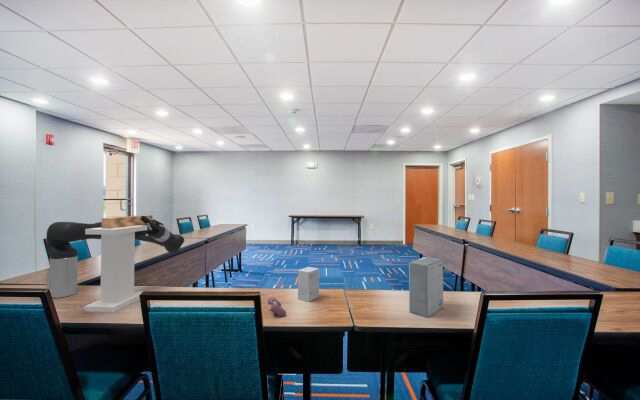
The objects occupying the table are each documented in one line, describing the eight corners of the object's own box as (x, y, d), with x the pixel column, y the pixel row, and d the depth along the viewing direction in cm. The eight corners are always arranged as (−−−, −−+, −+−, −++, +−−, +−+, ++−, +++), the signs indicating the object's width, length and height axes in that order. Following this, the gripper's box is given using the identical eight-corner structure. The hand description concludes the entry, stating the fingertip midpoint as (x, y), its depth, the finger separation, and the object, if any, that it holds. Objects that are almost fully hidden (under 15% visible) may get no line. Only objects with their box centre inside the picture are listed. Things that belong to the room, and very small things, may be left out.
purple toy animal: (271, 311, 110) (264, 297, 108) (281, 305, 111) (274, 291, 110) (276, 322, 100) (268, 306, 99) (287, 314, 102) (279, 299, 101)
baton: (144, 223, 132) (144, 215, 132) (152, 223, 131) (152, 215, 131) (101, 228, 108) (101, 218, 108) (111, 228, 107) (111, 218, 107)
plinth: (121, 295, 123) (122, 225, 123) (146, 296, 122) (147, 225, 122) (84, 311, 105) (85, 229, 105) (113, 312, 104) (114, 229, 104)
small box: (308, 294, 126) (308, 266, 126) (319, 297, 122) (319, 268, 123) (297, 299, 119) (297, 270, 119) (308, 302, 116) (309, 272, 116)
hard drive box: (425, 302, 117) (425, 256, 117) (443, 307, 112) (443, 259, 112) (408, 312, 106) (408, 261, 106) (427, 318, 101) (427, 265, 101)
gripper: (147, 225, 141) (125, 210, 126) (174, 225, 140) (154, 210, 125) (142, 238, 137) (119, 224, 123) (169, 239, 136) (149, 225, 122)
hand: (137, 217), depth 124 cm, fingers closed on baton, 4 cm apart
